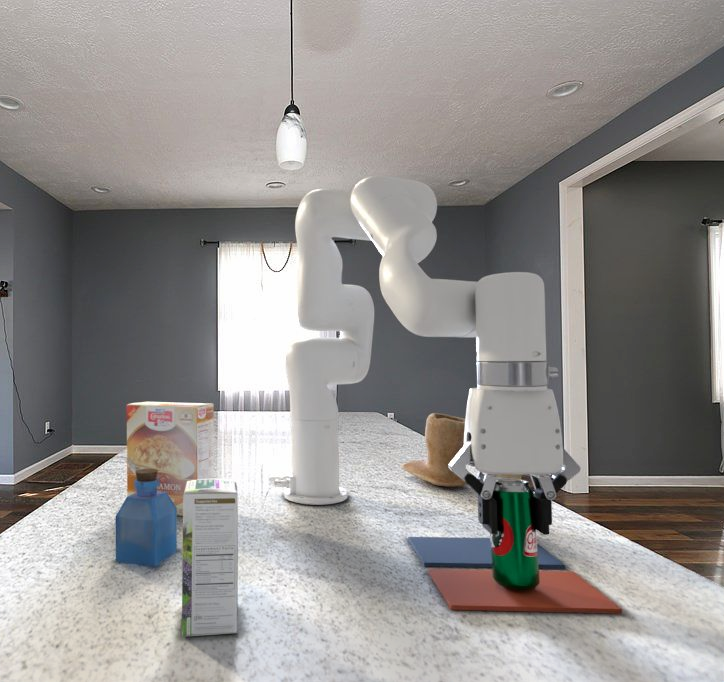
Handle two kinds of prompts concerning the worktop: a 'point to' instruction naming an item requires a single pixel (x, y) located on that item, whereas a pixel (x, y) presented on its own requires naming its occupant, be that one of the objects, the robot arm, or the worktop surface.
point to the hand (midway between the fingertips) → (514, 528)
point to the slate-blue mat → (466, 552)
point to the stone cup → (440, 450)
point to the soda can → (515, 536)
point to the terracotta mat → (520, 593)
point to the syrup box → (210, 557)
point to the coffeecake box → (170, 445)
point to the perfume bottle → (146, 523)
